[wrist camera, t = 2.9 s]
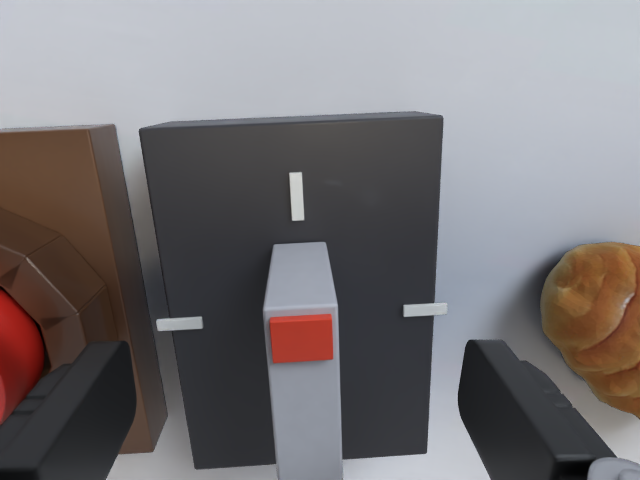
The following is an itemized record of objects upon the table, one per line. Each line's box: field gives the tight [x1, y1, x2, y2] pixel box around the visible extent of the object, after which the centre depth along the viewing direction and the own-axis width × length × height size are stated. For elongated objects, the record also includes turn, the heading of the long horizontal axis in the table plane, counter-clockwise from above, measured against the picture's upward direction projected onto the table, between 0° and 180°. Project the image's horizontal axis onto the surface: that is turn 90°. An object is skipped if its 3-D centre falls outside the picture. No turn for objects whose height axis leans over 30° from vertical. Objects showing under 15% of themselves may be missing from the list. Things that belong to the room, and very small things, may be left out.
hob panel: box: [139, 111, 447, 470], centre depth 15 cm, size 12×9×3 cm
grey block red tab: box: [263, 242, 343, 480], centre depth 12 cm, size 5×2×4 cm, turn 2°
